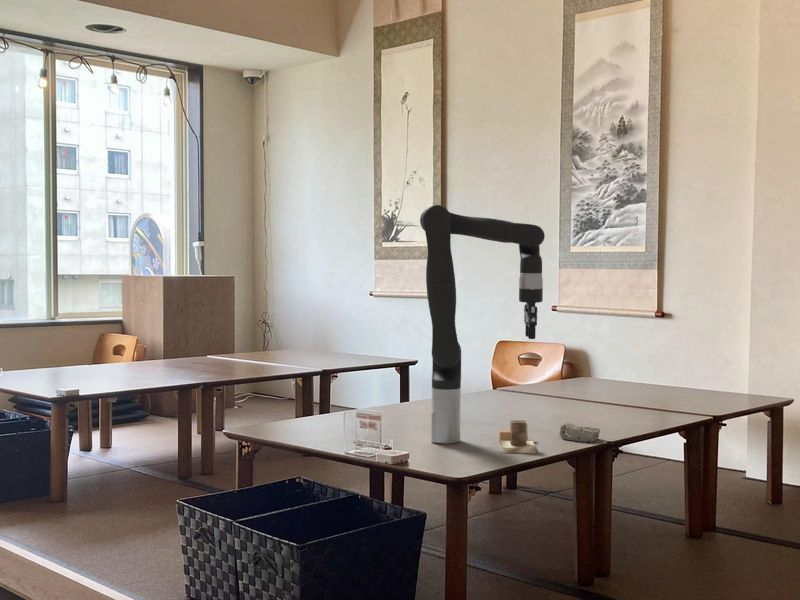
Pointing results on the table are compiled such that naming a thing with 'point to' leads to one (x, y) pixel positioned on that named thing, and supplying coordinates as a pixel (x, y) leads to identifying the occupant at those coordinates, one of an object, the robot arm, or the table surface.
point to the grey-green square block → (527, 434)
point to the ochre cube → (504, 435)
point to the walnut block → (518, 432)
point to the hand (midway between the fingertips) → (530, 337)
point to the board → (518, 447)
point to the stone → (578, 433)
